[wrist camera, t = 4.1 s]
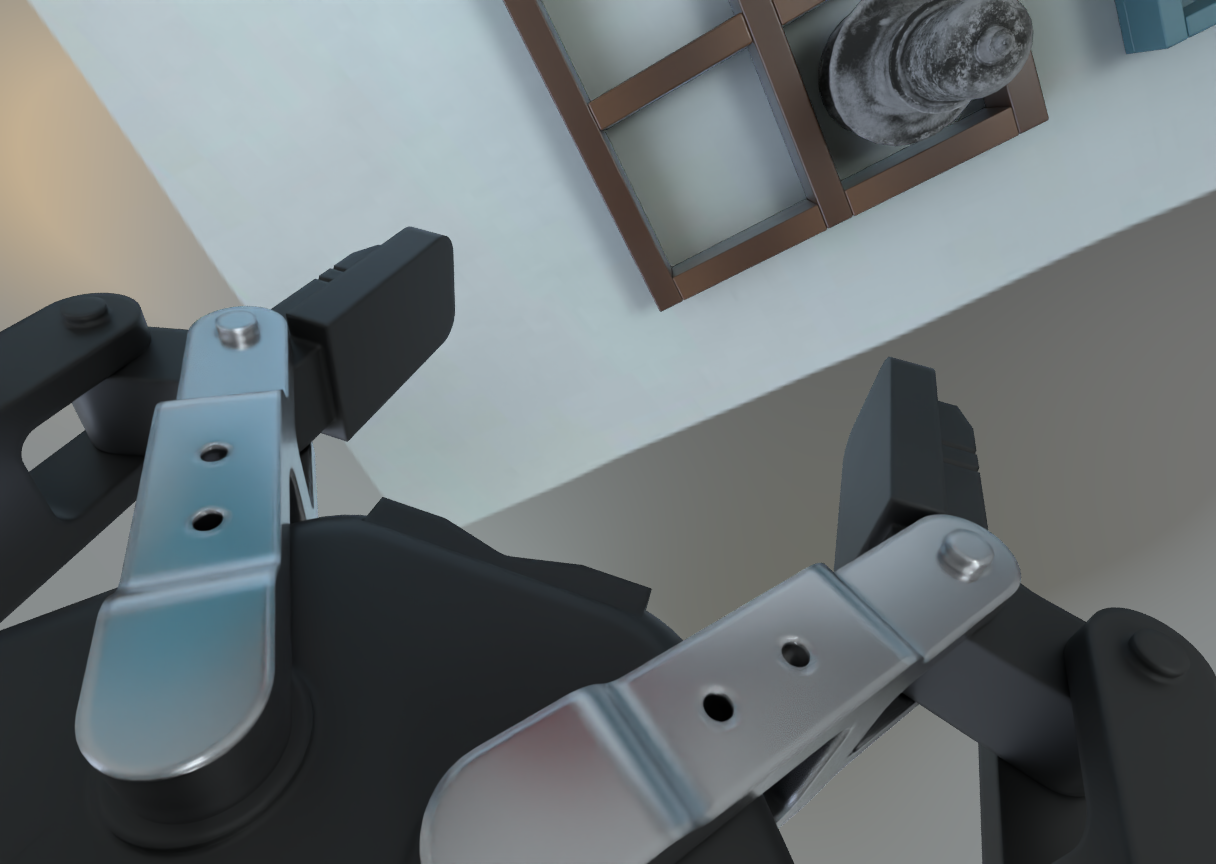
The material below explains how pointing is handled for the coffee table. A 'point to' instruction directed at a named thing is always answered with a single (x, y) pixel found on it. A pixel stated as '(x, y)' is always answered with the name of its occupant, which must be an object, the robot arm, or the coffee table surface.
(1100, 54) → the coffee table surface
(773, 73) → the spice rack
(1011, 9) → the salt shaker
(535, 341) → the coffee table surface
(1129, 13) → the tray
